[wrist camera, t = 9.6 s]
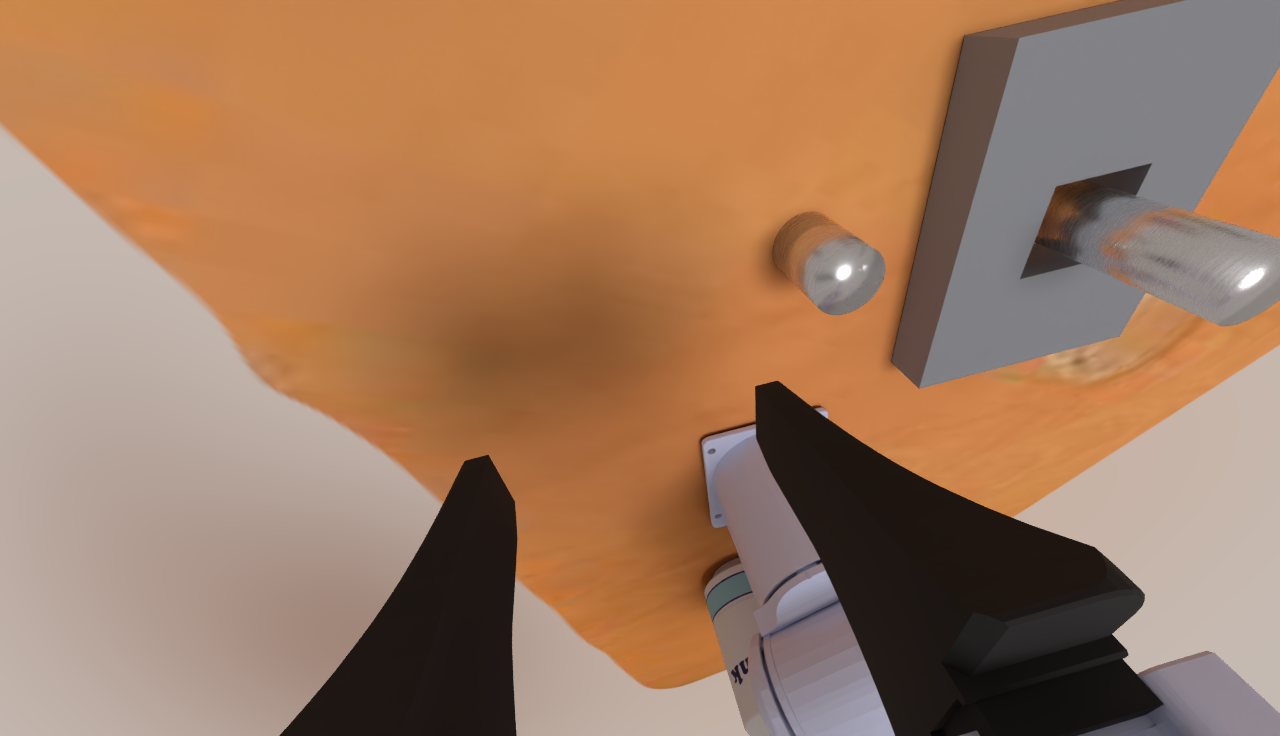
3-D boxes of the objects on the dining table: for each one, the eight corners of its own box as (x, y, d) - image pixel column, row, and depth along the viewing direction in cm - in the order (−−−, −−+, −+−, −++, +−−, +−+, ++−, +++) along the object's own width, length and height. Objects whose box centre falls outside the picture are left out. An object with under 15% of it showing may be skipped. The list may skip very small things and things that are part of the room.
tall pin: (1054, 223, 24) (1275, 312, 17) (998, 240, 24) (1196, 336, 17) (1075, 164, 22) (1335, 234, 15) (1015, 181, 22) (1247, 261, 15)
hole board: (1078, 314, 28) (1119, 336, 26) (891, 362, 28) (919, 388, 26) (1252, -30, 18) (1339, -35, 16) (964, 35, 18) (1019, 38, 16)
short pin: (830, 265, 23) (879, 305, 20) (772, 280, 23) (811, 322, 19) (836, 204, 21) (891, 238, 18) (772, 220, 21) (816, 257, 18)
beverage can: (754, 538, 37) (832, 717, 27) (791, 565, 41) (870, 731, 31) (685, 578, 38) (735, 760, 29) (726, 601, 42) (782, 768, 33)
